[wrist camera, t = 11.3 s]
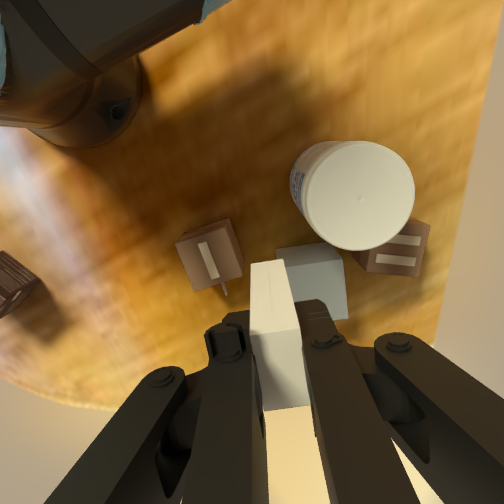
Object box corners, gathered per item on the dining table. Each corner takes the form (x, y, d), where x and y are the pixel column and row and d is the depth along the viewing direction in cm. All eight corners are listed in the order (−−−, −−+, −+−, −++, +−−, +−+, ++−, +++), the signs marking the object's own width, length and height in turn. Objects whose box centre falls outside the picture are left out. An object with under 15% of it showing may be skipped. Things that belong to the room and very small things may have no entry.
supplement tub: (273, 173, 46) (280, 184, 31) (339, 123, 44) (378, 113, 30) (318, 235, 48) (343, 273, 33) (382, 191, 46) (438, 210, 32)
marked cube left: (207, 290, 50) (200, 309, 44) (184, 232, 48) (174, 244, 42) (250, 276, 49) (249, 294, 43) (229, 217, 47) (224, 227, 41)
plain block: (281, 299, 50) (286, 326, 42) (274, 249, 48) (277, 268, 40) (334, 291, 50) (348, 318, 42) (329, 241, 48) (342, 259, 40)
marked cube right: (352, 258, 48) (366, 274, 42) (361, 211, 47) (376, 220, 41) (398, 263, 49) (418, 279, 43) (409, 216, 47) (431, 226, 41)
